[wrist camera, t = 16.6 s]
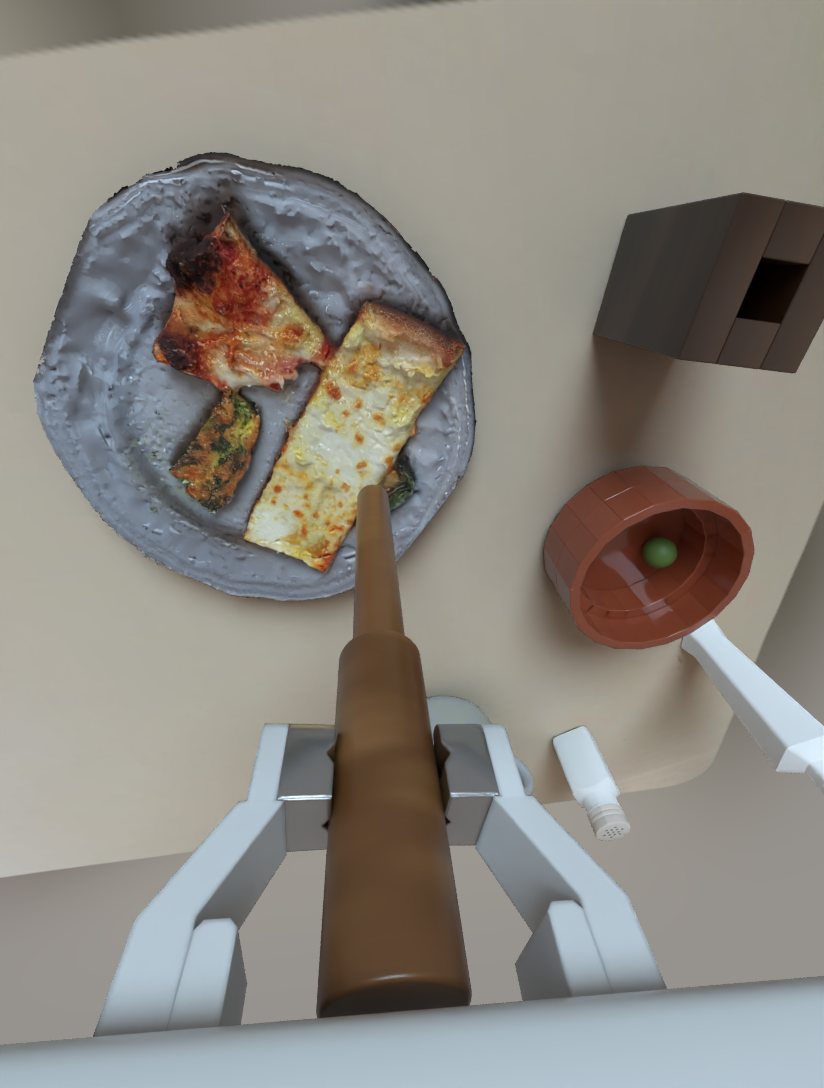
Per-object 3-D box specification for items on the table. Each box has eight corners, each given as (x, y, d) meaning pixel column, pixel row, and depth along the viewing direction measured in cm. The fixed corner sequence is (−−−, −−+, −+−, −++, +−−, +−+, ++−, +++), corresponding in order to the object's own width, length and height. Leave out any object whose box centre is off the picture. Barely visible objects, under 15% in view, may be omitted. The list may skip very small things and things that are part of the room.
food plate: (172, 33, 20) (138, -8, 17) (542, 361, 29) (563, 372, 26) (18, 473, 29) (-21, 496, 26) (332, 621, 38) (329, 651, 35)
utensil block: (726, 230, 26) (878, 216, 18) (681, 345, 29) (795, 373, 21) (627, 214, 25) (743, 191, 17) (592, 333, 28) (677, 359, 20)
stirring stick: (397, 478, 22) (486, 974, 6) (393, 520, 23) (459, 1034, 7) (351, 475, 21) (316, 987, 6) (348, 517, 22) (314, 1047, 7)
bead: (683, 550, 33) (686, 555, 35) (657, 527, 34) (661, 533, 36) (656, 572, 34) (660, 576, 36) (632, 550, 35) (637, 554, 37)
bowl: (726, 469, 34) (790, 506, 29) (660, 602, 40) (703, 651, 35) (567, 455, 32) (605, 491, 27) (524, 596, 38) (549, 647, 33)
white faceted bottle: (679, 660, 44) (807, 821, 31) (673, 631, 42) (807, 790, 29) (727, 642, 44) (878, 799, 31) (723, 611, 41) (883, 766, 29)
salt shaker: (561, 755, 51) (598, 848, 43) (549, 736, 49) (585, 830, 41) (595, 741, 50) (640, 833, 42) (584, 722, 48) (628, 815, 40)
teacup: (363, 734, 46) (362, 816, 39) (417, 663, 41) (428, 742, 35) (476, 766, 50) (493, 844, 44) (537, 705, 46) (566, 782, 39)
